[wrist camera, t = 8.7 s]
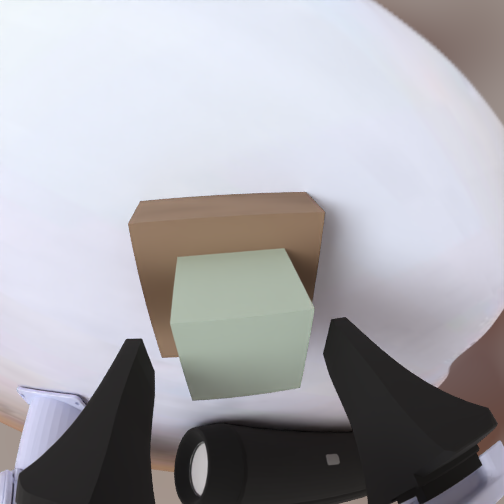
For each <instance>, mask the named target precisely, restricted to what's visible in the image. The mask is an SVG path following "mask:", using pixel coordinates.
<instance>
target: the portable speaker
mask: <svg viewBox="0 0 504 504" xmlns="http://www.w3.org/2000/svg"><path fill="white" fill-rule="evenodd" d="M174 478H175V486H176V491H177V494H178V497H179V499H180V500H181V502H182V504H339V503H343V502H347V501H351V500H355V499H358V498H362V497H365V496H367V491H366V484H365V478H364V473H363V468H362V464H361V459H360V455H359V451H358V447H357V444H356V440H355V437H354V433H353V432H342V433H328V432H297V431H282V430H271V429H261V428H252V427H244V426H237V425H230V424H224V423H217V424H212V425H206V426H201V427H195V428H192V429H190V430H188V431H187V432H186V434H185V435H184V437H183V438H182V440H181V442H180V445H179V448H178V451H177V455H176V460H175V470H174Z"/></svg>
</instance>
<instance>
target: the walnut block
mask: <svg viewBox="0 0 504 504" xmlns="http://www.w3.org/2000/svg"><path fill="white" fill-rule="evenodd" d="M324 216H325V211H324V210H323V209H322V208H321V207H320V206H319V205H318V204H317V203H316V202H315V201H314V200H313V199H312V198H311V197H310V196H309V195H308V194H307V193H306V192H283V193H252V194H231V195H213V196H198V197H184V198H171V199H159V200H148V201H140V203H139V205H138V206H137V208H136V210H135V212H134V214H133V216H132V217H131V219H130V221H129V223H128V226H129V231H130V237H131V242H132V246H133V251H134V256H135V261H136V265H137V269H138V274H139V278H140V282H141V286H142V290H143V294H144V298H145V302H146V306H147V309H148V313H149V316H150V320H151V324H152V327H153V330H154V334H155V337H156V340H157V344H158V347H159V350H160V353H161V356H162V358H167V357H179V355H178V351H177V348H176V344H175V340H174V337H173V333H172V329H171V325H170V319H171V309H172V299H173V290H174V281H175V272H176V264H177V257H184V256H196V255H208V254H220V253H233V252H245V251H257V250H269V249H281V248H284V249H285V251H286V252H287V254H288V256H289V258H290V260H291V262H292V264H293V266H294V268H295V270H296V272H297V274H298V276H299V278H300V280H301V282H302V284H303V286H304V288H305V290H306V292H307V294H308V296H309V298H310V300H311V302H312V300H313V294H314V288H315V281H316V275H317V268H318V262H319V255H320V248H321V240H322V233H323V225H324Z"/></svg>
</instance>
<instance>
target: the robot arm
mask: <svg viewBox="0 0 504 504" xmlns="http://www.w3.org/2000/svg"><path fill="white" fill-rule="evenodd" d="M323 355H324V358H325V362H326V365H327V369H328V372H329V375H330V378H331V380H332V382H333V385H334V387H335V389H336V391H337V394H338V396H339V398H340V400H341V403H342V405H343V407H344V409H345V412H346V414H347V416H348V419H349V421H350V424H351V427H352V430H353V433H354V437H355V440H356V444H357V447H358V451H359V455H360V459H361V464H362V468H363V473H364V478H365V484H366V491H367V497H368V504H391V503H393V502H395V501H398V504H495V503H497V502H498V501H499V499H500V498H502V497H503V496H504V446H503V444H502V443H501V441H498V442H497V443H496V444H494V445H493V446H492V447H491V448H489V449H488V450H487V451H486V452H484V453H483V454H482V455H480V456H479V457H478V455H477V452H478V451H479V447H478V445H477V444H478V443H479V442H480V441H481V440H482V439H483V438H485V437H486V436H487V435H488V434H489V433H490V432H491V431H493V429H495V427H496V426H497V424H498V423H497V422H496V420H495V418H494V417H493V415H492V413H491V412H490V410H489V409H488V408H486V407H483V406H479V405H476V404H473V403H470V402H467V401H465V400H462V399H460V398H457V397H454V396H452V395H450V394H448V393H446V392H444V391H442V390H440V389H438V388H436V387H434V386H432V385H431V384H429V383H427V382H426V381H424V380H422V379H421V378H419V377H418V376H416V375H415V374H413V373H411V372H410V371H409V370H407V369H406V368H404V367H403V366H402V365H400V364H399V363H398V362H396V361H395V360H394V359H393V358H391V357H390V356H389V355H388V354H386V353H385V352H384V351H383V350H382V349H380V348H379V347H378V346H377V345H376V344H375V343H374V342H372V341H371V340H370V339H369V338H368V337H367V336H366V335H365V334H363V333H362V332H361V331H360V330H359V329H358V328H357V327H356V326H355V325H354V324H353V323H351V322H350V321H349V320H348V319H347V318H346V317H343V318H337V319H331V323H330V327H329V331H328V336H327V340H326V344H325V348H324V352H323ZM17 392H18V393H19V394H20V395H21V397H22V398H23V399H24V400H25V401H26V402H27V403H28V404H29V405H30V407H29V410H28V414H27V417H26V421H25V425H24V428H23V432H22V437H21V441H20V445H19V449H18V455H17V459H16V465H15V469H14V470H12V471H9V470H5V471H2V472H0V504H155V499H154V492H153V484H152V474H151V458H150V442H151V429H152V418H153V408H154V398H155V371H154V369H153V366H152V364H151V361H150V359H149V356H148V354H147V351H146V348H145V346H144V343H143V340H142V339H126V341H125V342H124V344H123V345H122V347H121V349H120V351H119V353H118V354H117V356H116V358H115V360H114V362H113V363H112V365H111V367H110V368H109V370H108V372H107V373H106V375H105V377H104V378H103V380H102V382H101V383H100V385H99V387H98V388H97V390H96V391H95V393H94V394H93V396H92V397H91V399H90V400H89V402H88V403H87V405H85V403H84V402H83V401H82V400H81V398H80V397H79V396H77V395H71V394H62V393H54V392H47V391H40V390H34V389H28V388H22V387H17Z"/></svg>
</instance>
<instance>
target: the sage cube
mask: <svg viewBox="0 0 504 504" xmlns="http://www.w3.org/2000/svg"><path fill="white" fill-rule="evenodd" d="M314 310H315V308H314V306H313V304H312V302H311V300H310V298H309V296H308V294H307V292H306V290H305V288H304V286H303V284H302V282H301V280H300V278H299V276H298V274H297V272H296V270H295V268H294V266H293V264H292V262H291V260H290V258H289V256H288V254H287V252H286V251H285V249H284V248H281V249H269V250H257V251H245V252H233V253H220V254H208V255H196V256H184V257H177V264H176V272H175V281H174V290H173V299H172V309H171V319H170V325H171V329H172V333H173V337H174V340H175V344H176V348H177V351H178V355H179V358H180V362H181V365H182V369H183V372H184V375H185V379H186V382H187V385H188V388H189V391H190V394H191V398H192V401H195V400H210V399H222V398H232V397H242V396H250V395H258V394H265V393H272V392H278V391H284V390H290V389H296V388H300V386H301V381H302V376H303V371H304V366H305V361H306V356H307V350H308V345H309V339H310V334H311V328H312V322H313V316H314Z"/></svg>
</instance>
